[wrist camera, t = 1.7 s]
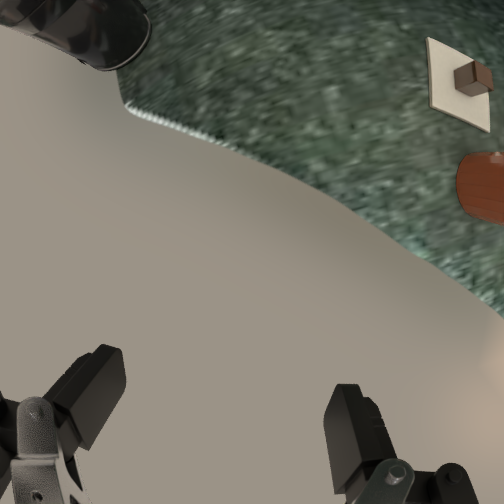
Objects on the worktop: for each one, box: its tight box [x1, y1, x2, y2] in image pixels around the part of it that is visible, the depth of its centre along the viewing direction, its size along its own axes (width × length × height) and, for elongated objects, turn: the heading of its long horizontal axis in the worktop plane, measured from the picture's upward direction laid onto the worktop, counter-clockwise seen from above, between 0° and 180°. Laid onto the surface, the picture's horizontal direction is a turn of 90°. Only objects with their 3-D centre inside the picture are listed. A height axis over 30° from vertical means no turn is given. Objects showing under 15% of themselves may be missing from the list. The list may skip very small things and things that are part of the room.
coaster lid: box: [426, 37, 494, 133], centre depth 21 cm, size 10×10×6 cm
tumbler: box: [456, 152, 504, 226], centre depth 22 cm, size 9×9×10 cm
